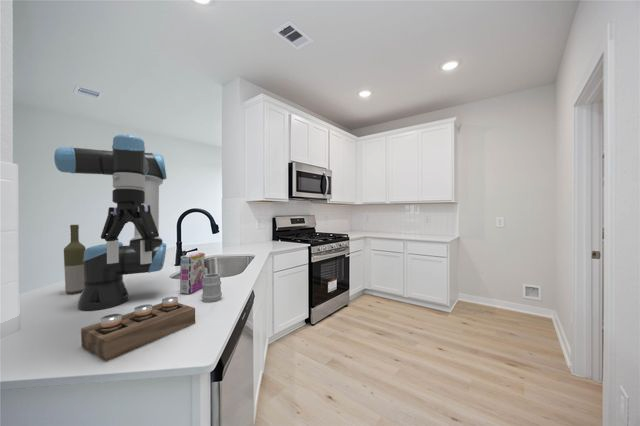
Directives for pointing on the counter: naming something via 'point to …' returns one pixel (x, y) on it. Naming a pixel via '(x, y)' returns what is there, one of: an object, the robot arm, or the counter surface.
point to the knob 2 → (142, 313)
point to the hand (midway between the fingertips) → (129, 263)
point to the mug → (211, 287)
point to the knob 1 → (111, 323)
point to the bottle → (74, 263)
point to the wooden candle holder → (136, 331)
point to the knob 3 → (169, 304)
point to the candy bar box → (191, 272)
